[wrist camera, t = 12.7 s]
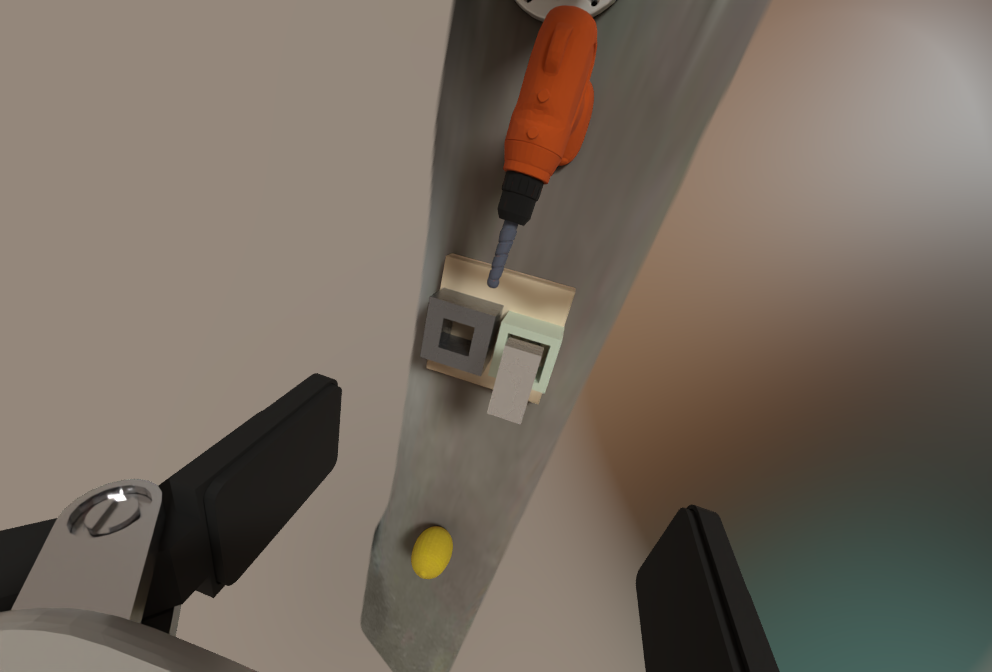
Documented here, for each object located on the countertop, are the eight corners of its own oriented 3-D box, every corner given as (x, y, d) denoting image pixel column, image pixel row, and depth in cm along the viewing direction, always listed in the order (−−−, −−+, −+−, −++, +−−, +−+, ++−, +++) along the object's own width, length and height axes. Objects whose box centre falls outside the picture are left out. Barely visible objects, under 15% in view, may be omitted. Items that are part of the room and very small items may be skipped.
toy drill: (492, 268, 40) (449, 281, 26) (551, 72, 35) (538, -48, 20) (535, 282, 40) (516, 304, 25) (602, 86, 34) (625, -27, 20)
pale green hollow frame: (509, 310, 41) (501, 322, 37) (564, 327, 40) (562, 340, 36) (496, 360, 43) (488, 375, 40) (548, 376, 42) (544, 393, 39)
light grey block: (523, 311, 40) (504, 345, 31) (551, 319, 40) (541, 356, 31) (508, 366, 43) (486, 413, 34) (534, 375, 43) (520, 424, 34)
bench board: (452, 253, 42) (446, 255, 40) (575, 288, 40) (574, 292, 39) (432, 361, 48) (426, 367, 46) (540, 395, 46) (538, 404, 44)
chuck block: (443, 287, 42) (429, 296, 38) (503, 305, 41) (495, 316, 37) (433, 343, 44) (419, 356, 41) (489, 361, 43) (481, 376, 40)
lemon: (466, 531, 57) (448, 581, 50) (445, 547, 59) (425, 597, 52) (439, 508, 56) (417, 555, 49) (418, 525, 59) (394, 572, 51)
